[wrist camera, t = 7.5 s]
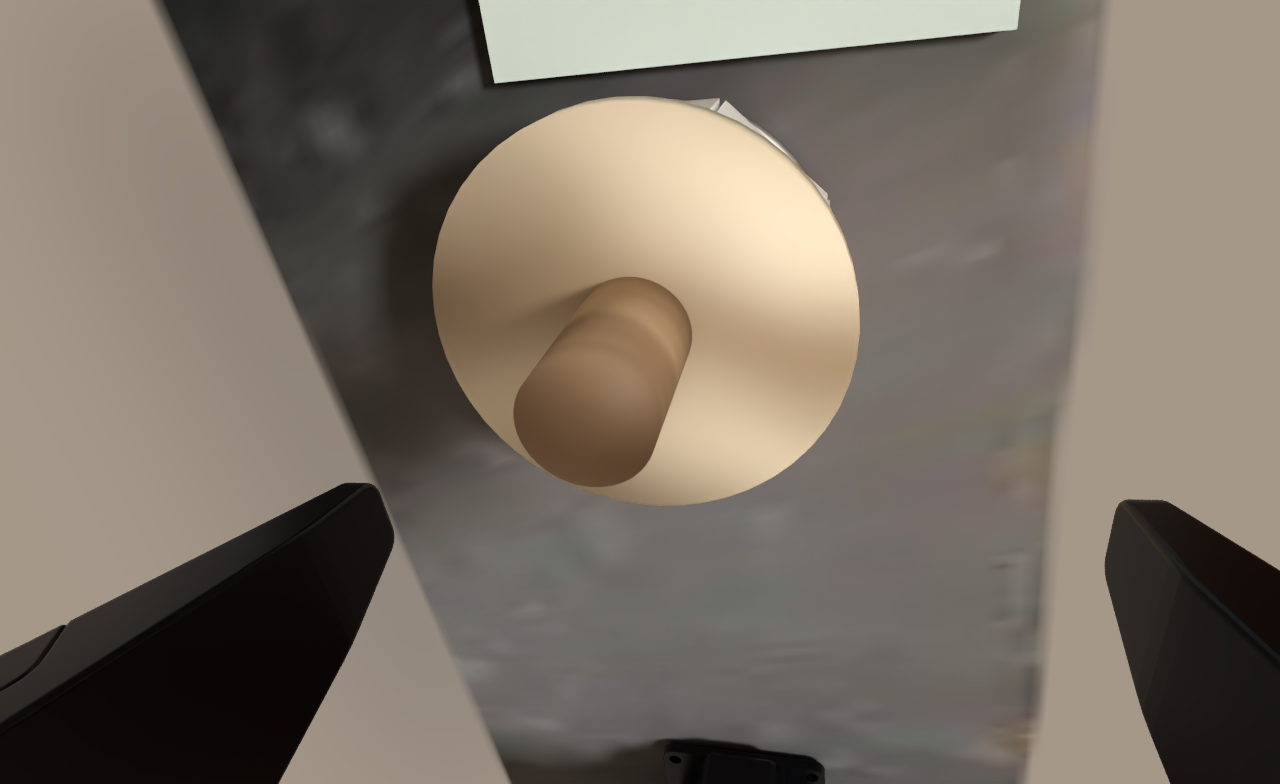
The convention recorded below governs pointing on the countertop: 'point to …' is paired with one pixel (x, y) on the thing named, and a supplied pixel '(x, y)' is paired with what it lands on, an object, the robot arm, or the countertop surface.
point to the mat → (709, 30)
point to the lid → (647, 301)
